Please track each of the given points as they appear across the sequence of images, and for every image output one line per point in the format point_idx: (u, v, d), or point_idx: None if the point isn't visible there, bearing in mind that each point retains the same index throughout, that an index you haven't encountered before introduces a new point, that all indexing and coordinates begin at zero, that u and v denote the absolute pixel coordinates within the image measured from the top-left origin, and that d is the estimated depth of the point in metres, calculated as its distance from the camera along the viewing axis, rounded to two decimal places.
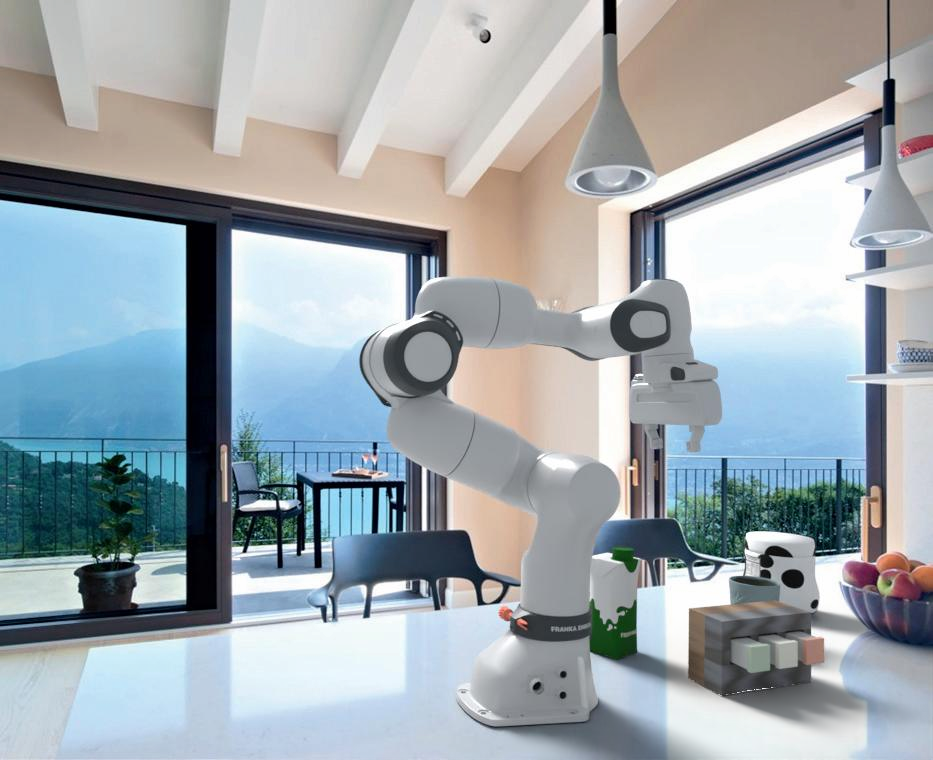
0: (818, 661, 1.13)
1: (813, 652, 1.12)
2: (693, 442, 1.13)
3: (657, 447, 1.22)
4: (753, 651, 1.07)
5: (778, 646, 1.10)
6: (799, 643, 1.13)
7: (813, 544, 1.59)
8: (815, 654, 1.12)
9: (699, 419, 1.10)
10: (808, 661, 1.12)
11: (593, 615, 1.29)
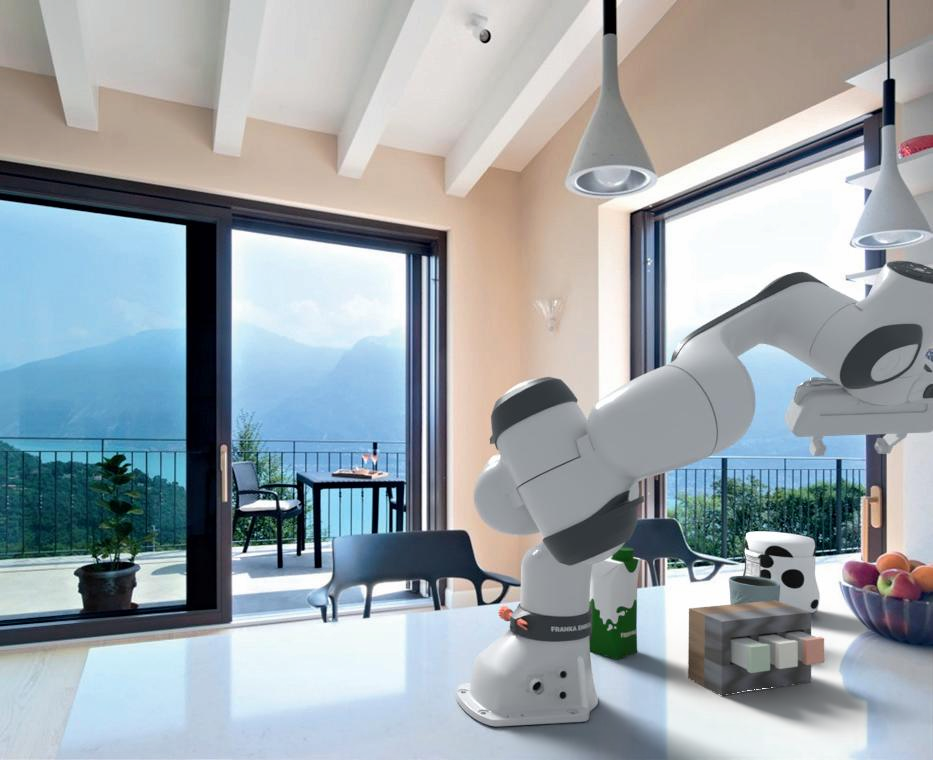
0: (818, 661, 1.13)
1: (813, 652, 1.12)
2: None
3: None
4: (753, 651, 1.07)
5: (778, 646, 1.10)
6: (799, 643, 1.13)
7: (813, 544, 1.59)
8: (815, 654, 1.12)
9: (928, 428, 0.93)
10: (808, 661, 1.12)
11: (593, 615, 1.29)
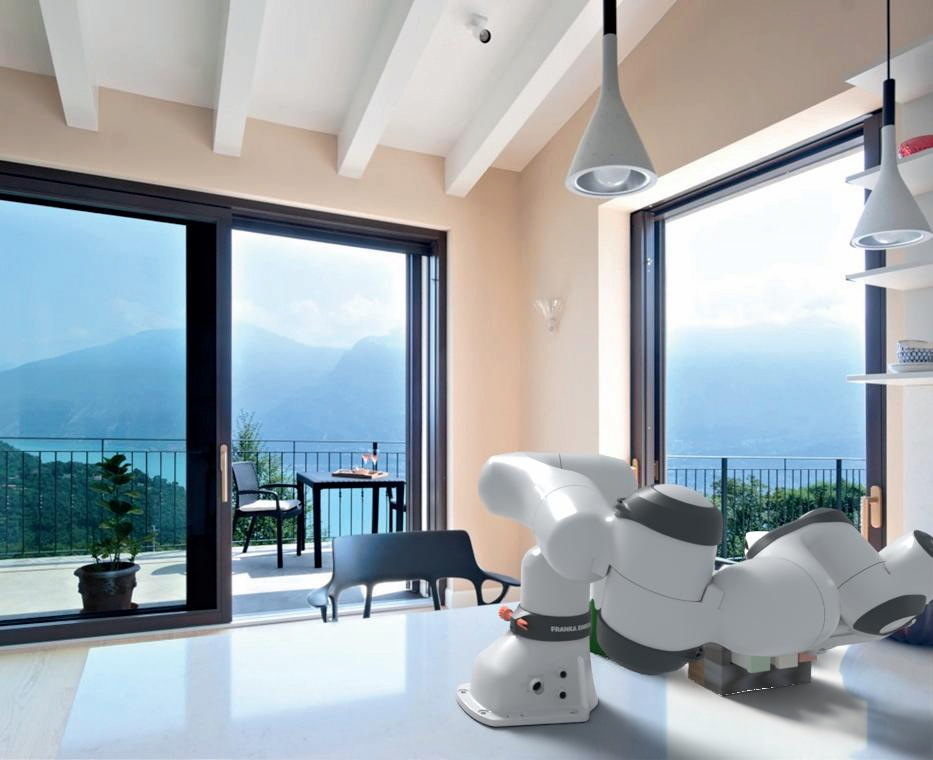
0: (811, 658, 1.14)
1: None
2: None
3: None
4: None
5: None
6: None
7: None
8: None
9: (877, 639, 1.11)
10: (801, 658, 1.13)
11: (593, 615, 1.29)
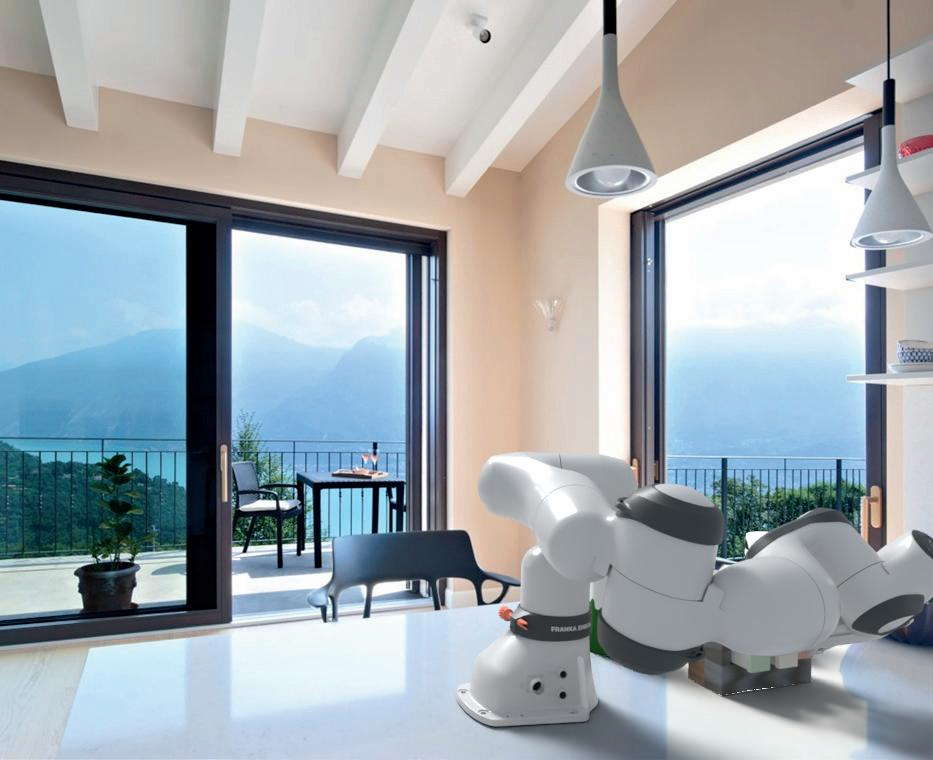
0: (806, 656, 1.15)
1: None
2: None
3: None
4: None
5: None
6: None
7: None
8: None
9: (875, 639, 1.12)
10: None
11: (593, 615, 1.29)
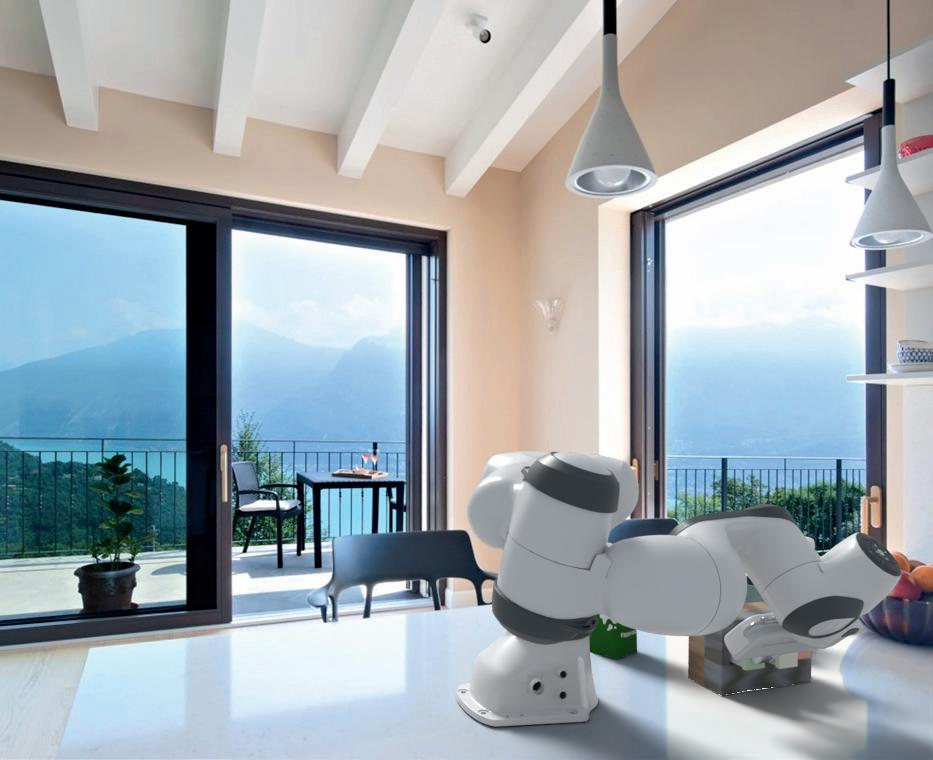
0: (806, 656, 1.15)
1: None
2: None
3: None
4: None
5: None
6: None
7: (813, 544, 1.58)
8: None
9: (826, 647, 1.07)
10: None
11: None
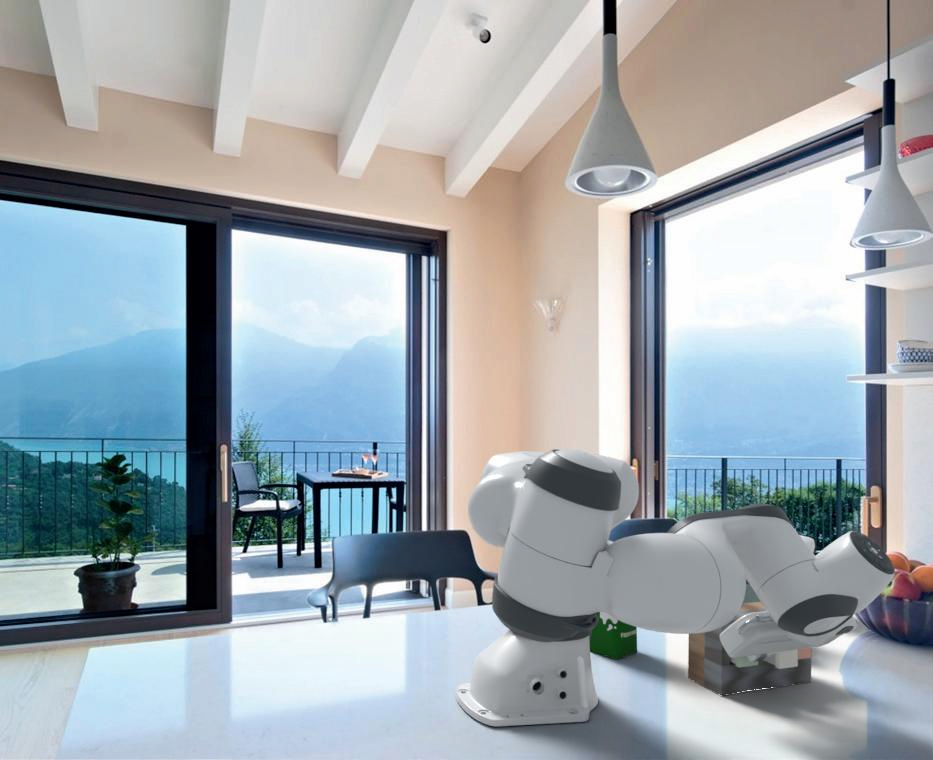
0: (806, 656, 1.15)
1: None
2: None
3: None
4: None
5: None
6: None
7: (813, 544, 1.59)
8: (803, 649, 1.15)
9: (820, 645, 1.08)
10: None
11: None
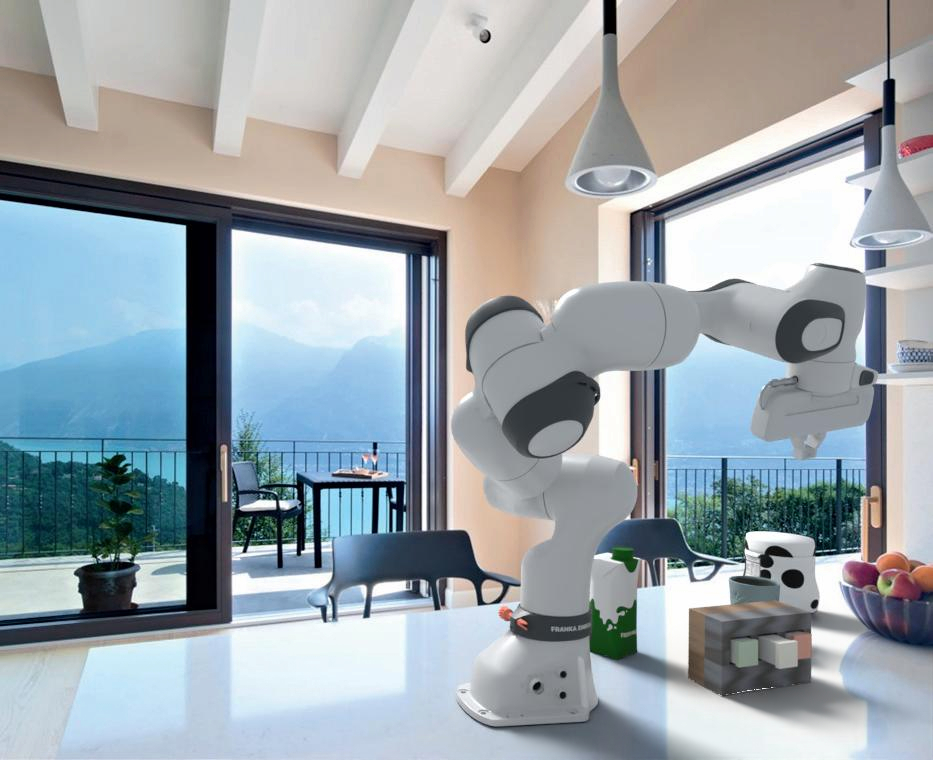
0: (806, 656, 1.15)
1: (801, 647, 1.15)
2: None
3: None
4: (741, 646, 1.10)
5: (778, 646, 1.10)
6: (787, 638, 1.16)
7: (813, 544, 1.59)
8: (803, 649, 1.15)
9: (862, 421, 1.04)
10: None
11: (593, 615, 1.29)
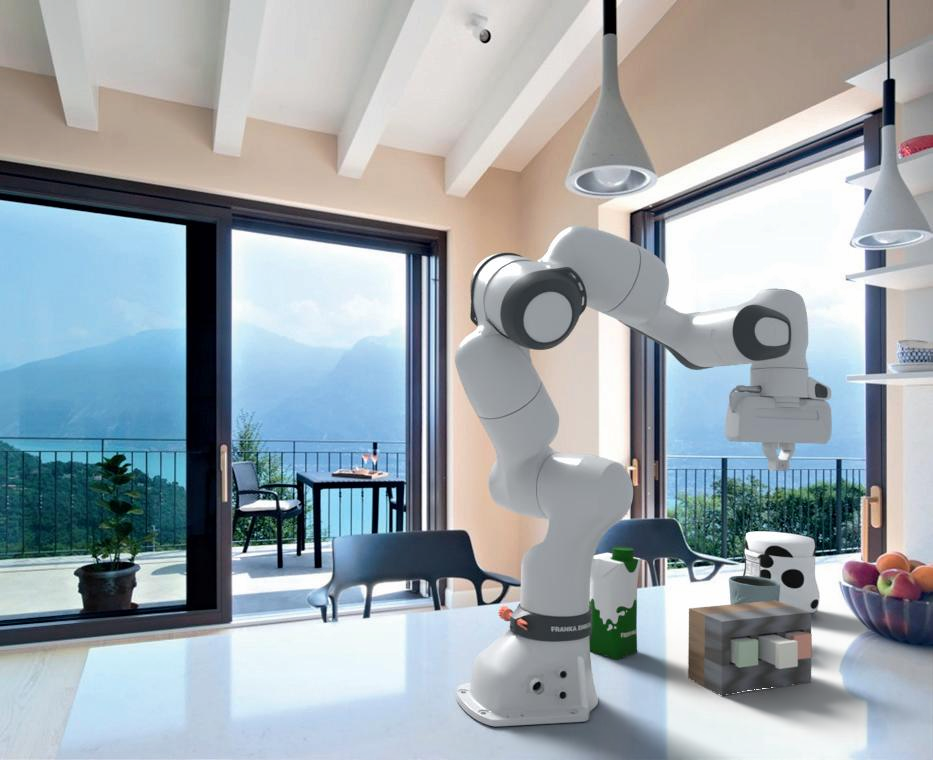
0: (806, 656, 1.15)
1: (801, 647, 1.15)
2: None
3: None
4: (741, 646, 1.10)
5: (778, 646, 1.10)
6: (787, 638, 1.16)
7: (813, 544, 1.59)
8: (803, 649, 1.15)
9: (825, 437, 1.13)
10: None
11: (593, 615, 1.29)
